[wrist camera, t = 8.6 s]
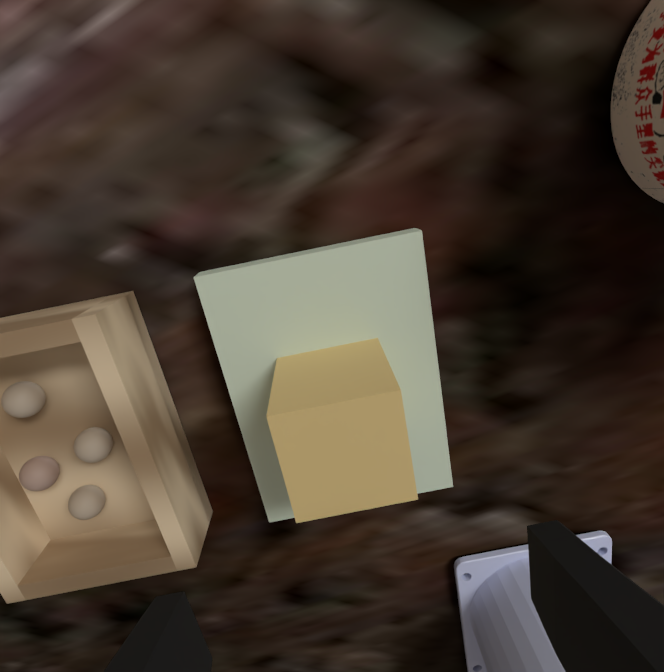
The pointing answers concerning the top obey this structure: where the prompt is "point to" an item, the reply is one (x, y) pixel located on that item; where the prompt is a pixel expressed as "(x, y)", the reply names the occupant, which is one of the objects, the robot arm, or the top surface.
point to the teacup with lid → (642, 102)
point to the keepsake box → (91, 454)
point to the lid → (333, 374)
